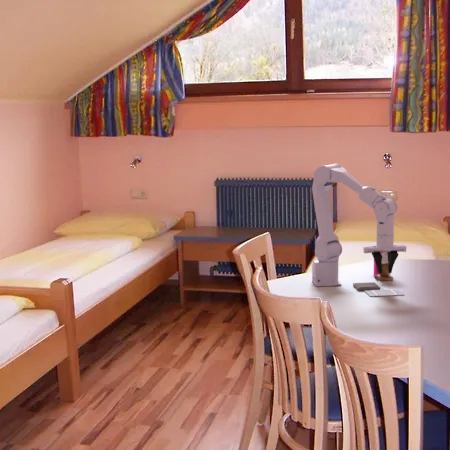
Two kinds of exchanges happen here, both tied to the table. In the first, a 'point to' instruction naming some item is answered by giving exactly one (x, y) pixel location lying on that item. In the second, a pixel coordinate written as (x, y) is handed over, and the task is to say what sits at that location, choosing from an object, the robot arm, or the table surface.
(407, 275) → the table surface
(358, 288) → the pad
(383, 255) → the supplement box
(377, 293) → the print card
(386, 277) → the stamp
